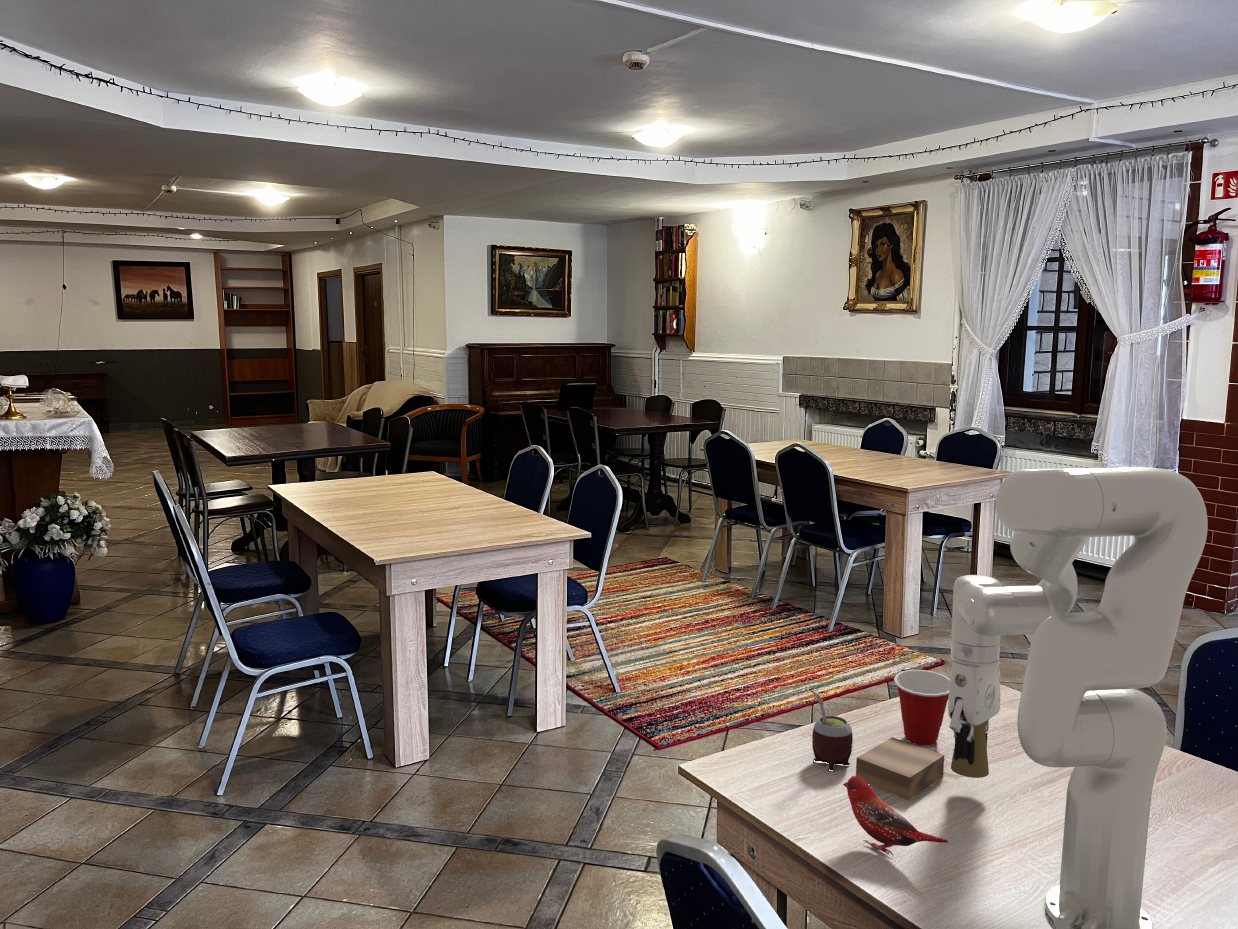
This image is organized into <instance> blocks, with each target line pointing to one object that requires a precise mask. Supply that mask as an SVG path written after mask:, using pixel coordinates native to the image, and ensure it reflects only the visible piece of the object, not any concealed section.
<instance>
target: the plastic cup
mask: <svg viewBox="0 0 1238 929" xmlns="http://www.w3.org/2000/svg"><path fill="white" fill-rule="evenodd" d="M893 680H894V682H895V685H896V687H897V691H898V696H899V705H900V713H901V720H902V724H903V733H904V738H905V737H906V738H905V739H907V740H908V742H909V741H910V742H911V744H913V743H914V745H916V744H918V745H917V746H921V745H923V747H929V746H934V745H936V744H937V741H938V738H939V735H940V730H941V727H942V723H943V720H944V716H945V712H946V708H947V705H948V704H947V703H948V699H949V686H950V677H948V676H946V675H944V674H942V673H941V674H940V673H938V672H936V671H932V670H931V671H930V670H924V669H909V670H903V671H901V672H899V673H896V675H895V677H894V678H893ZM907 740H906V741H907ZM910 742H909V743H910ZM933 744H934V745H933Z"/></svg>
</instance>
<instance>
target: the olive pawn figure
mask: <svg viewBox="0 0 1238 929" xmlns="http://www.w3.org/2000/svg"><path fill="white" fill-rule="evenodd" d="M962 720H966V721H967V719H966V717H963V718H962ZM988 722H990V719H988V720H987V721H985V722H983V723H982V724H980V725H978V726H974V733H973V740H974V741H975V754H974V763H973V764H968V760H967V759H961V758H959V759H958V760H955V758H954V751H953V754H952V758H951V763H950V769H951V771H952V772H954V773H955V774H957V775H960V776H963V777H965V778H972V779H981V778H985V777H988V776H989V775H990V769H989V758H988V748H987V747H988V745H987V746H986V736H985V733H986V732H985V727H986V726H987V725H988ZM961 725H962V726H963V727H965V728H966V729H967V731H968V725H965V724H961ZM954 748H955V746H954V747H953V749H954Z"/></svg>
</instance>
